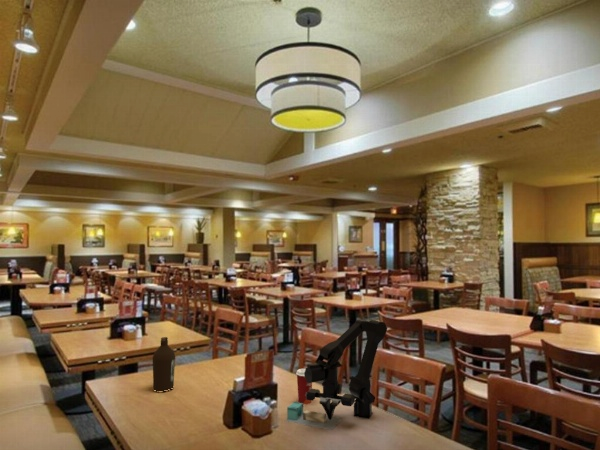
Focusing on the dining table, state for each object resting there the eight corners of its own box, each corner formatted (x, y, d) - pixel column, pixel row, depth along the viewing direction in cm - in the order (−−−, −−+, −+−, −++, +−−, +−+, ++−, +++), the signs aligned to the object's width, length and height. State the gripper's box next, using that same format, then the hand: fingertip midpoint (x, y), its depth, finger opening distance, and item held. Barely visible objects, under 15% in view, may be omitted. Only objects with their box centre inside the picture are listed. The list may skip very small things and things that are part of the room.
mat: (342, 419, 170) (342, 418, 170) (332, 430, 159) (332, 429, 159) (296, 411, 178) (296, 410, 178) (284, 422, 167) (284, 421, 167)
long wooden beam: (326, 420, 167) (326, 413, 167) (324, 422, 165) (324, 416, 165) (305, 416, 171) (305, 410, 171) (303, 419, 168) (303, 412, 169)
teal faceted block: (303, 414, 174) (303, 403, 174) (296, 420, 167) (296, 409, 168) (294, 412, 175) (294, 401, 175) (287, 418, 169) (287, 407, 169)
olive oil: (150, 394, 199) (151, 340, 200) (153, 386, 209) (154, 336, 211) (173, 392, 201) (174, 339, 203) (175, 385, 212) (176, 335, 213)
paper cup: (311, 406, 183) (311, 373, 184) (294, 404, 185) (294, 372, 186) (314, 399, 191) (314, 368, 192) (298, 398, 193) (298, 367, 193)
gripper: (358, 376, 170) (358, 415, 169) (315, 370, 177) (315, 408, 176) (350, 384, 160) (350, 426, 159) (305, 378, 167) (305, 418, 166)
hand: (330, 419), depth 165 cm, fingers closed
